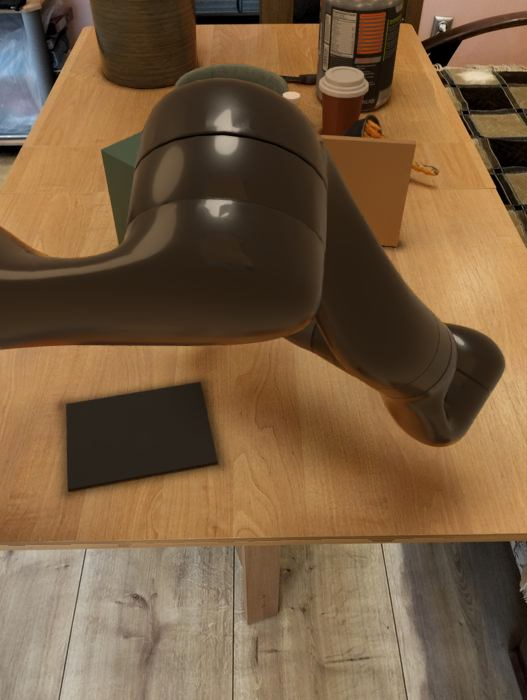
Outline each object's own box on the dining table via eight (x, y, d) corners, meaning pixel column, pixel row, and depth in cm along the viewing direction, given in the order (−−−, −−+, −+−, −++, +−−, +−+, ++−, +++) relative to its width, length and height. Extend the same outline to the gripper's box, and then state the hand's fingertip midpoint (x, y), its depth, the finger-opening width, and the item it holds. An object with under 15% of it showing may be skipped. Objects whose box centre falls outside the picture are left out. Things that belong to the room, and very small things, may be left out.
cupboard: (269, 234, 101) (270, 130, 89) (179, 292, 91) (166, 184, 78) (211, 203, 107) (205, 102, 95) (120, 255, 97) (100, 149, 85)
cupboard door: (276, 215, 104) (279, 115, 92) (396, 224, 103) (414, 123, 91) (272, 237, 100) (274, 135, 88) (397, 246, 98) (416, 144, 86)
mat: (68, 492, 68) (67, 489, 67) (66, 406, 76) (65, 403, 75) (218, 464, 70) (217, 461, 70) (200, 384, 78) (200, 381, 78)
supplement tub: (349, 76, 144) (362, -57, 126) (404, 99, 136) (427, -40, 117) (299, 96, 136) (305, -43, 118) (354, 121, 128) (370, -23, 110)
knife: (212, 76, 146) (209, 83, 142) (212, 68, 145) (208, 75, 141) (336, 77, 144) (336, 85, 140) (336, 69, 143) (337, 76, 139)
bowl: (250, 104, 133) (249, 55, 126) (308, 146, 121) (311, 93, 114) (160, 129, 125) (154, 77, 118) (212, 176, 113) (209, 122, 106)
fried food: (353, 117, 119) (449, 107, 109) (355, 179, 122) (449, 174, 112) (330, 116, 112) (431, 105, 102) (333, 182, 115) (431, 176, 105)
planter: (194, 90, 138) (187, -13, 124) (92, 89, 138) (72, -15, 124) (203, 51, 154) (198, -45, 139) (111, 50, 154) (96, -46, 140)
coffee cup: (344, 152, 119) (350, 88, 111) (305, 137, 123) (309, 74, 115) (371, 135, 124) (380, 72, 116) (333, 121, 128) (339, 59, 120)
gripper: (344, 237, 64) (223, 178, 72) (246, 308, 56) (122, 233, 64) (338, 295, 69) (225, 234, 77) (247, 367, 61) (132, 292, 69)
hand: (179, 234), depth 70 cm, fingers closed on pill bottle, 5 cm apart
